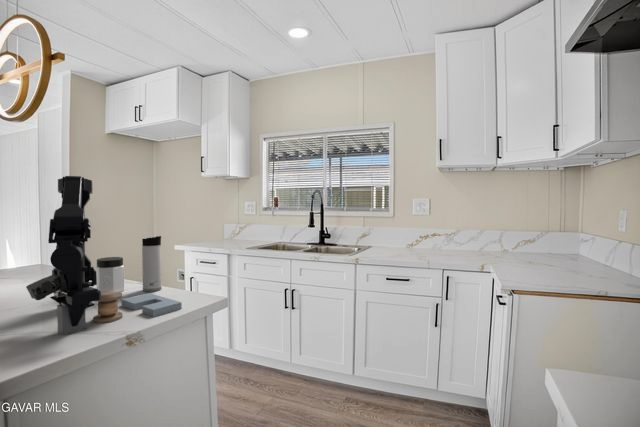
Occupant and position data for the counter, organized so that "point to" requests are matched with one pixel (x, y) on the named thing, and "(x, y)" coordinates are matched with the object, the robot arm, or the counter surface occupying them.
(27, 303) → the counter surface
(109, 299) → the bobbin
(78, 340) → the counter surface
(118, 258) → the jar
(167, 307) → the notched board
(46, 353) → the counter surface
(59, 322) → the grey block
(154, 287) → the travel mug
